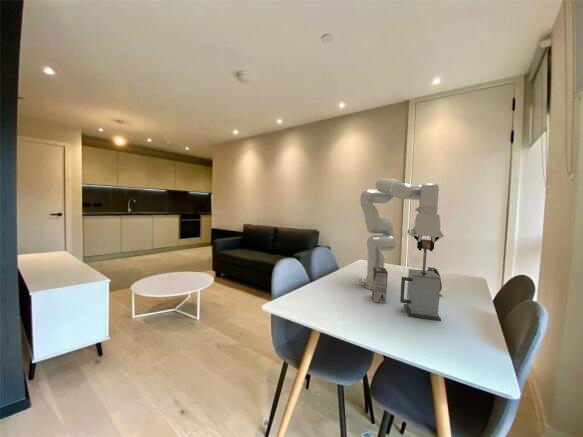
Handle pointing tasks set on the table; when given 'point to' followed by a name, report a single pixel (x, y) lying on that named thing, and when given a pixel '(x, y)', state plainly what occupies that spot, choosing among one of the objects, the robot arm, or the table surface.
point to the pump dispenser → (437, 274)
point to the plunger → (425, 252)
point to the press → (421, 294)
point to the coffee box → (379, 285)
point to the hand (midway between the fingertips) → (425, 250)
